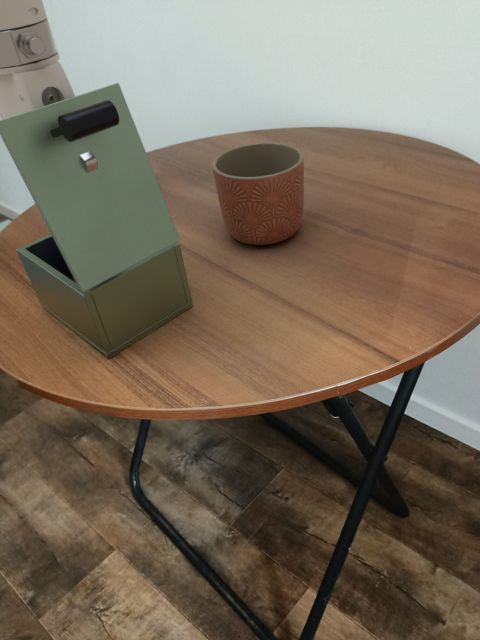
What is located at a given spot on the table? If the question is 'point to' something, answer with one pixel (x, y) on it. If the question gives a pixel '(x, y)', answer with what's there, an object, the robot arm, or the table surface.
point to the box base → (109, 295)
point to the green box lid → (91, 183)
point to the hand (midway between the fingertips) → (73, 215)
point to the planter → (260, 191)
